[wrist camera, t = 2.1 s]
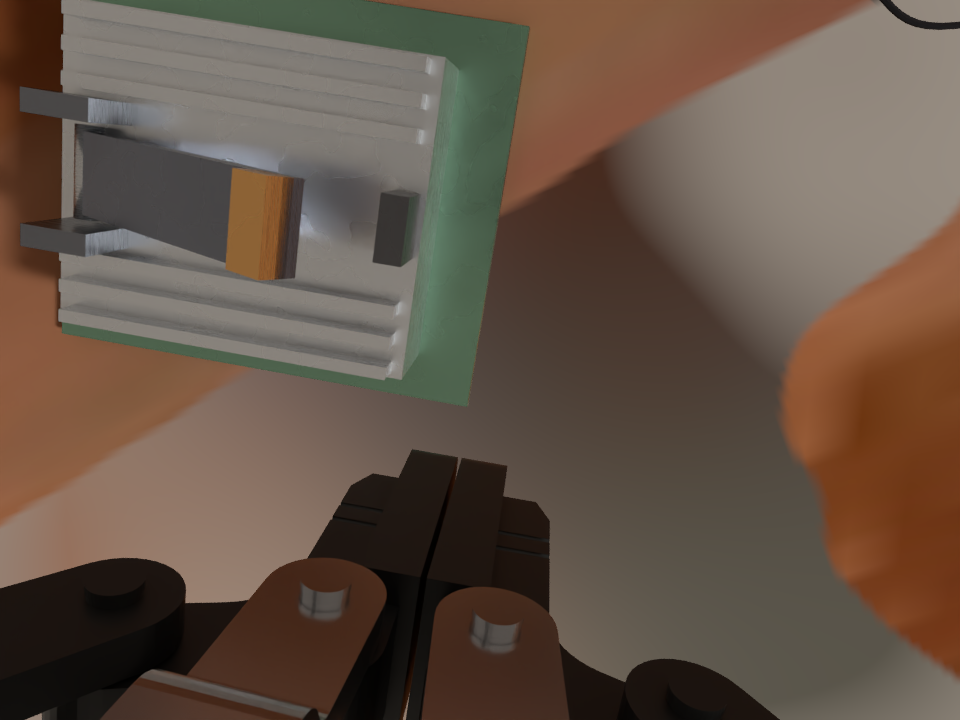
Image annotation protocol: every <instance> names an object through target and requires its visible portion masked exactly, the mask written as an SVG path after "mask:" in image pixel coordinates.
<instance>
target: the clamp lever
mask: <svg viewBox="0 0 960 720" xmlns="http://www.w3.org/2000/svg"><path fill="white" fill-rule="evenodd" d="M303 188H304V178H300V177H295V176H291V175H286V174H282V173H278V172H273V171H269V170H264V169H260V168H256V167H251V166H247V165H242V164H238V163H233V162H229V161H225V160H220V159H216V158H211V157H207V156H203V155H198V154H194V153H189V152H185V151H181V150H176V149H172V148H167V147H163V146H158V145H154V144H150V143H145V142H141V141H136V140H132V139H128V138H123V137H119V136H114V135H110V134H106V133H105V127H100V126H94V125H87V124H79V123H74V192H73V218H75V219H79V220H86V221H102V222H105V223H108V224H111V225H114V226H117V227H120V228H123V229H126V230H129V231H132V232H135V233H138V234H141V235H144V236H147V237H150V238H153V239H156V240H159V241H162V242H165V243H167V244H170V245H173V246H176V247H179V248H182V249H185V250H188V251H191V252H194V253H197V254H200V255H203V256H206V257H209V258H212V259H215V260H218V261H221V262H224V263H226V267H225V269H226V270H229V271H232V272H235V273H237V274H240V275H243V276H246V277H249V278H252V279H255V280H258V281H259V280H276V279H292V278H295V273H296V263H297V252H298V241H299V231H300V220H301V210H302V199H303Z"/></svg>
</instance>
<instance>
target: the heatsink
mask: <svg viewBox="0 0 960 720" xmlns="http://www.w3.org/2000/svg"><path fill="white" fill-rule="evenodd" d="M61 13H63V14H64V24H63V35H62V34H61V49H62V50H63V70H61V85H63V92H58V91H50V90H43V89H35V88H28V87H20V111H22V112H28V113H34V114H40V115H46V116H52V117H58V118H63V121H62V218H59V219H51V220H43V221H35V222H27V223H20V246H24V247H30V248H36V249H41V250H47V251H53V252H58V253H59V261H61V278H60V279H59V292H61V308H60V309H59V314H58V321H59V322H62V333H64V334H69V335H75V336H80V337H86V338H91V339H97V340H102V341H108V342H113V343H119V344H124V345H130V346H135V347H141V348H146V349H152V350H157V351H163V352H168V353H174V354H179V355H185V356H190V357H196V358H201V359H207V360H212V361H218V362H223V363H229V364H235V365H240V366H246V367H251V368H257V369H262V370H268V371H273V372H279V373H285V374H290V375H295V376H301V377H306V378H312V379H317V380H323V381H328V382H334V383H340V384H345V385H350V386H356V387H361V388H367V389H372V390H378V391H383V392H389V393H394V394H400V395H406V396H411V397H417V398H422V399H427V400H433V401H439V402H444V403H450V404H455V405H460V406H466V407H467V406H468V403H469V397H470V391H471V385H472V378H473V372H474V366H475V360H476V354H477V347H478V342H479V336H480V330H481V324H482V317H483V311H484V305H485V299H486V293H487V287H488V281H489V274H490V268H491V262H492V256H493V250H494V244H495V237H496V232H497V226H498V220H499V213H500V207H501V201H502V195H503V189H504V183H505V177H506V171H507V165H508V158H509V152H510V146H511V140H512V134H513V128H514V122H515V116H516V110H517V103H518V97H519V91H520V85H521V79H522V73H523V67H524V61H525V54H526V48H527V42H528V36H529V30H530V28H529V26H524V25H517V24H511V23H505V22H498V21H492V20H485V19H479V18H473V17H466V16H460V15H454V14H447V13H441V12H435V11H428V10H422V9H416V8H409V7H403V6H396V5H390V4H384V3H377V2H371V1H365V0H62V2H61ZM74 123H79V124H87V125H94V126H100V127H105V133H106V134H110V135H114V136H119V137H123V138H128V139H132V140H136V141H141V142H145V143H150V144H154V145H158V146H163V147H167V148H172V149H176V150H181V151H185V152H189V153H194V154H198V155H203V156H207V157H211V158H216V159H220V160H225V161H229V162H233V163H238V164H242V165H247V166H251V167H256V168H260V169H264V170H269V171H273V172H278V173H282V174H286V175H291V176H295V177H300V178H304V188H303V199H302V210H301V220H300V231H299V241H298V252H297V263H296V273H295V278H292V279H276V280H259V281H258V280H255V279H252V278H249V277H246V276H243V275H240V274H237V273H235V272H232V271H229V270H226V269H225V267H226V263H224V262H221V261H218V260H215V259H212V258H209V257H206V256H203V255H200V254H197V253H194V252H191V251H188V250H185V249H182V248H179V247H176V246H173V245H170V244H167V243H165V242H162V241H159V240H156V239H153V238H150V237H147V236H144V235H141V234H138V233H135V232H132V231H129V230H126V229H123V228H120V227H117V226H114V225H111V224H108V223H105V222H102V221H86V220H79V219H75V218H73V192H74Z"/></svg>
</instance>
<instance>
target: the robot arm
mask: <svg viewBox="0 0 960 720" xmlns="http://www.w3.org/2000/svg"><path fill="white" fill-rule="evenodd" d="M457 464H458V457H453V456H448V455H441V454H436V453H430V452H425V451H419V450H412V451H411V453H410V455H409V457H408V459H407V461H406V463H405V466H404V468H403V470H402V472H401V474H400V476H399V478H396V477H390V476H384V475H379V474H371V475H369V476H368V477H366V478H364V479H362V480H360V481H359V482H357V483H355V484H353V485H351V487H350V488H349V490H348V492H347V493H346V495H345V497H344V498H343V500H342V502H341V505H339V507H338V508H337V510H336V512H335V513H334V515H333V519H332V520H330V522H329V523H328V525H327V527H326V528H325V530H324V532H323V533H322V535H321V537H320V538H319V540H318V542H317V543H316V545H315V547H314V548H313V550H312V552H311V553H310V555H309V557H308V558H307V559H303V560H298V561H294V562H291V563H288V564H286V565H284V566H282V567H280V568H278V569H276V570H275V571H274V572H272V573H271V574H270V575H269V576H268V577H267V578H266V579H265V581H264V582H263V583H262V584H261V586H260V587H259V588H258V589H257V590H256V592H255V593H254V594H253V595H252V597H251V598H250V599H249V600H245V601H239V602H222V603H185V596H186V586H185V583H184V580H183V578H182V577H181V576H180V574H179V573H178V572H176V571H175V570H174V569H172V568H170V567H169V566H167V565H164V564H161V563H159V562H156V561H151V560H147V559H138V558H117V559H108V560H101V561H97V562H92V563H89V564H85V565H81V566H78V567H74V568H71V569H67V570H64V571H60V572H57V573H53V574H50V575H46V576H43V577H39V578H36V579H32V580H28V581H25V582H21V583H18V584H14V585H11V586H7V587H4V588H0V720H25V719H28V718H30V717H32V716H35V715H38V714H40V713H42V720H403V717H404V712H405V709H406V705H407V701H408V697H409V703H408V710H407V717H406V720H780V719H778V718H777V717H776V716H775V715H773V714H772V713H771V712H770V711H768V710H767V709H766V708H764V707H763V706H762V705H761V704H760V703H758V702H757V701H756V700H755V699H753V698H752V697H751V696H750V695H748V694H747V693H746V692H745V691H744V690H742V689H741V688H740V687H739V686H737V685H736V684H734V683H733V682H732V681H730V680H729V679H727V678H726V677H724V676H722V675H721V674H719V673H717V672H715V671H713V670H711V669H708V668H706V667H703V666H701V665H698V664H695V663H691V662H687V661H682V660H676V659H657V660H651V661H647V662H644V663H642V664H640V665H638V666H636V667H635V668H634V669H633V670H632V671H631V672H630V673H629V675H628V677H627V680H626V683H625V682H623V681H620V680H618V679H616V678H613V677H611V676H609V675H606V674H604V673H601V672H599V671H597V670H595V669H593V668H590V667H589V666H587V665H585V664H584V663H582V662H580V661H579V660H577V659H576V658H575V657H574V656H572V655H571V654H570V653H568V652H567V651H566V650H565V649H564V648H563V647H562V646H561V644H560V643H559V638H558V631H557V627H556V624H555V622H554V620H553V618H552V617H551V616H550V614H549V536H550V533H549V531H550V530H549V529H550V521H549V519H548V518H547V516H546V515H545V514H544V512H543V511H542V510H541V508H540V507H539V506H538V504H537V503H536V502H532V501H526V500H520V499H515V498H509V497H504V496H503V493H504V486H505V479H506V472H507V466H505V465H500V464H494V463H488V462H483V461H476V460H471V459H465V458H462V460H461V463H460V466H459V470H458V473H457V476H456V472H457ZM455 479H456V480H455ZM409 694H410V696H409Z"/></svg>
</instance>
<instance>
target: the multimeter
mask: <svg viewBox="0 0 960 720" xmlns="http://www.w3.org/2000/svg"><path fill="white" fill-rule="evenodd" d="M880 1H881V2H882V3H883V4H884V6H885V7H886V8H887V9H888V10H889V11H890V12H891V13H892V14H894V15H895V16H896V17H897V18H898V19H900V20H902V21H903V22H905V23H907V24H909V25H912V26H915V27H919V28H924V29H936V30H943V29H958V28H960V22H951V23H932V22H926V21H921V20H918V19H915V18H912V17H910V16H909V15H907V14H905V13H904V12H902V11H901V10H900V9H898V7H897V6H895V5H894V4H893V2H892V1H891V0H880Z"/></svg>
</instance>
